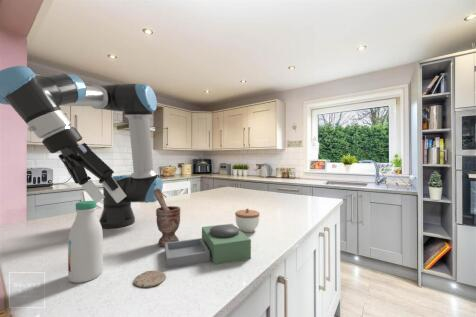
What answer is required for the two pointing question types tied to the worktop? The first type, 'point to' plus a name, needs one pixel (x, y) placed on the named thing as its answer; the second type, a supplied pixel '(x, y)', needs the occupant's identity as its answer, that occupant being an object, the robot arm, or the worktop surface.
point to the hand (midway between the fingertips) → (110, 200)
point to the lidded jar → (247, 220)
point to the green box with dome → (226, 243)
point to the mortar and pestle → (166, 219)
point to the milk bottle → (85, 244)
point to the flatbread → (149, 278)
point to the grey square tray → (186, 252)
